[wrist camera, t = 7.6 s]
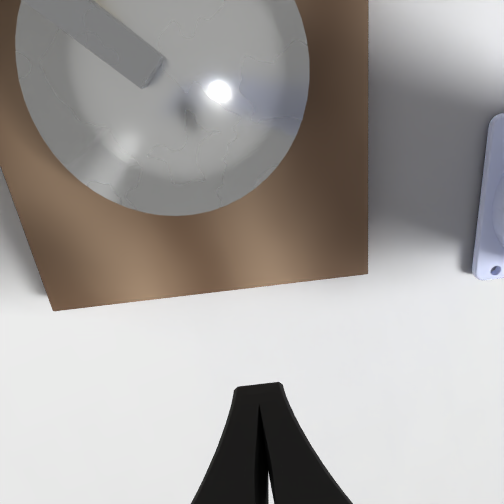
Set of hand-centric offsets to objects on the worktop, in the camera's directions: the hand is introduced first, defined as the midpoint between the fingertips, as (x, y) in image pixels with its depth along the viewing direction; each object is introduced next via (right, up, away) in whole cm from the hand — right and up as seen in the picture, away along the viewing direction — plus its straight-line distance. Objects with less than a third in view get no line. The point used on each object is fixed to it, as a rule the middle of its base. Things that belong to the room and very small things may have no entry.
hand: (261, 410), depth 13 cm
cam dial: (-5, +13, +3) cm, 14 cm away
